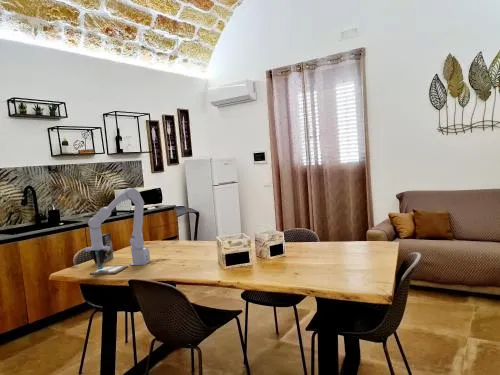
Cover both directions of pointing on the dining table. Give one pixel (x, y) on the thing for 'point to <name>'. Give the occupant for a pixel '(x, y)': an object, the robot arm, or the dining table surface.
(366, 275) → the dining table surface
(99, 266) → the marker
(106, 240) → the coffee box
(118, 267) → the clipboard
